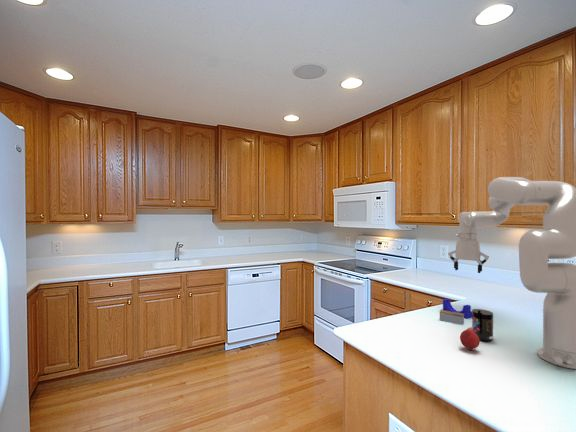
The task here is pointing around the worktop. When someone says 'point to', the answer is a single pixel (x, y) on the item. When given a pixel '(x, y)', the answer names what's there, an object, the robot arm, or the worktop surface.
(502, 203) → the robot arm
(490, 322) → the supplement container
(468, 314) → the cable clip
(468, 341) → the onion
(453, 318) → the end stop block
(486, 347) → the worktop surface
